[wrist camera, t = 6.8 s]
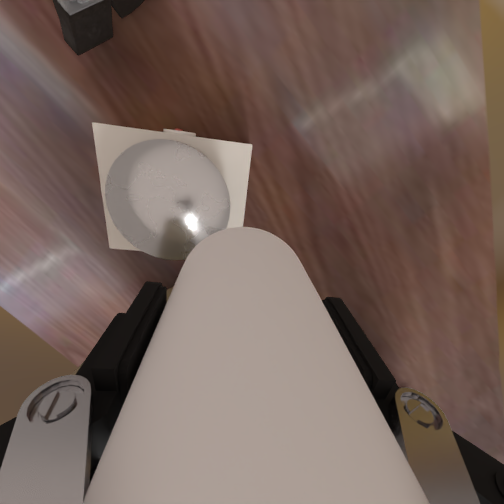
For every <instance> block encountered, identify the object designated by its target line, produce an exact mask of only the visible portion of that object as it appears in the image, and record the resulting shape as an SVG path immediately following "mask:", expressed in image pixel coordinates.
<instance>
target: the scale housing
mask: <svg viewBox="0 0 504 504" xmlns="http://www.w3.org/2000/svg"><path fill="white" fill-rule="evenodd" d="M92 126H93V133H94V141H95V148H96V155H97V162H98V169H99V176H100V183H101V193H102V198H103V205H104V212H105V219H106V226H107V234H108V241H109V248H111V249H123V250H135V251H141V250H139V249H138V248H136V247H135V246H134V245H132V244H131V243H130V242H129V241H128V240H127V239H126V238H125V237H124V236H123V235H122V234H121V233H120V232H119V230H118V229H117V228H116V226H115V224H114V223H113V221H112V219H111V217H110V214H109V212H108V209H107V204H106V199H105V184H106V179H107V175H108V173H109V170H110V168H111V166H112V164H113V163H114V161H115V160H116V159H117V157H118V156H119V155H120V154H121V153H122V152H124V151H125V150H126V149H127V148H129V147H131V146H132V145H134V144H137V143H140V142H142V141H147V140H153V139H167V140H174V141H179V142H182V143H185V144H188V145H190V146H192V147H194V148H196V149H197V150H199V151H200V152H202V153H203V154H204V155H206V156H207V157H208V158H209V159H210V160H211V161H212V162H213V163H214V164H215V165H216V167H217V168H218V169H219V171H220V172H221V174H222V176H223V178H224V180H225V182H226V185H227V187H228V191H229V195H230V216H229V221H228V225H227V228H226V229H228V228H235V227H243V222H244V213H245V204H246V196H247V187H248V178H249V170H250V161H251V152H252V144H245V143H238V142H230V141H223V140H216V139H209V138H202V137H196V133H191V132H185V131H183V130H181V129H176V128H175V130H170V129H163V132H159V131H151V130H144V129H137V128H130V127H123V126H116V125H108V124H101V123H94V122H92Z"/></svg>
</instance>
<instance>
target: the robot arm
mask: <svg viewBox="0 0 504 504" xmlns="http://www.w3.org/2000/svg"><path fill="white" fill-rule="evenodd" d="M322 302H323V304H324V306H325V308H326V310H327V312H328V313H329V315H330V317H331V319H332V321H333V323H334V325H335V326H336V328H337V330H338V332H339V334H340V336H341V338H342V339H343V341H344V343H345V345H346V347H347V349H348V351H349V353H350V354H351V356H352V358H353V360H354V362H355V364H356V366H357V367H358V369H359V371H360V373H361V375H362V377H363V379H364V381H365V382H366V384H367V386H368V388H369V390H370V392H371V394H372V396H373V397H374V399H375V401H376V403H377V405H378V407H379V409H380V411H381V412H382V414H383V416H384V418H385V420H386V422H387V424H388V426H389V427H390V429H391V431H392V433H393V435H394V437H395V439H396V441H397V442H398V444H399V446H400V448H401V450H402V452H403V454H404V456H405V458H406V460H407V461H408V463H409V465H410V467H411V469H412V471H413V473H414V475H415V477H416V478H417V480H418V482H419V484H420V486H421V488H422V490H423V492H424V494H425V496H426V497H427V499H428V501H429V503H430V504H504V464H502V463H501V462H499V461H497V460H496V459H494V458H493V457H491V456H490V455H488V454H487V453H485V452H484V451H482V450H481V449H479V448H478V447H476V446H475V445H473V444H472V443H470V442H469V441H467V440H465V439H464V438H462V437H461V436H459V435H458V434H456V433H455V432H453V431H452V430H451V427H450V425H449V422H448V420H447V418H446V416H445V414H444V413H443V411H442V410H441V409H440V408H439V406H438V405H437V404H436V403H435V402H434V401H432V400H431V399H430V398H429V397H427V396H426V395H424V394H423V393H421V392H419V391H417V390H415V389H411V388H400V389H399V387H398V386H397V384H396V383H395V382H396V380H395V378H394V377H393V375H392V374H391V372H390V371H389V369H388V368H387V366H386V365H385V363H384V362H383V360H382V359H381V357H380V356H379V354H378V353H377V351H376V350H375V348H374V347H373V345H372V344H371V343H370V341H369V340H368V338H367V337H366V335H365V334H364V332H363V331H362V329H361V328H360V326H359V325H358V323H357V322H356V320H355V319H354V317H353V316H352V314H351V313H350V311H349V310H348V308H347V307H346V305H345V304H344V302H343V301H342V299H341V298H334V297H326V299H325V300H322ZM166 303H167V289H166V287H163V286H162V283H158V282H146V283H145V284H144V286H143V287H142V289H141V290H140V292H139V294H138V295H137V297H136V298H135V300H134V301H133V303H132V305H131V306H130V308H129V309H128V311H127V313H118V314H117V315H116V316H115V317H114V319H113V320H112V322H111V323H110V325H109V326H108V328H107V329H106V331H105V332H104V333H103V335H102V336H101V338H100V339H99V341H98V342H97V344H96V345H95V347H94V348H93V350H92V351H91V352H90V354H89V355H88V357H87V358H86V360H85V361H84V363H83V364H82V366H81V367H80V369H79V370H78V371H77V373H76V374H75V375H67V376H61V377H59V378H56V379H53V380H51V381H49V382H47V383H45V384H43V385H42V386H40V387H39V388H38V389H36V390H35V391H34V392H33V393H31V394H30V396H29V397H28V398H27V399H26V400H25V401H24V402H23V404H22V406H21V408H20V410H19V412H18V415H17V417H15V418H13V419H12V420H10V421H8V422H6V423H4V424H2V425H1V426H0V504H83V501H84V498H85V495H86V492H87V489H88V487H89V485H90V482H91V480H92V478H93V475H94V473H95V470H96V468H97V466H98V463H99V461H100V459H101V456H102V454H103V451H104V449H105V447H106V444H107V442H108V440H109V437H110V435H111V433H112V430H113V428H114V425H115V423H116V421H117V418H118V416H119V414H120V411H121V409H122V407H123V404H124V402H125V399H126V397H127V395H128V392H129V390H130V388H131V385H132V383H133V381H134V378H135V376H136V374H137V371H138V369H139V367H140V364H141V362H142V359H143V357H144V355H145V352H146V350H147V348H148V345H149V343H150V341H151V338H152V336H153V334H154V331H155V329H156V327H157V324H158V322H159V320H160V317H161V315H162V313H163V310H164V308H165V306H166Z"/></svg>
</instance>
